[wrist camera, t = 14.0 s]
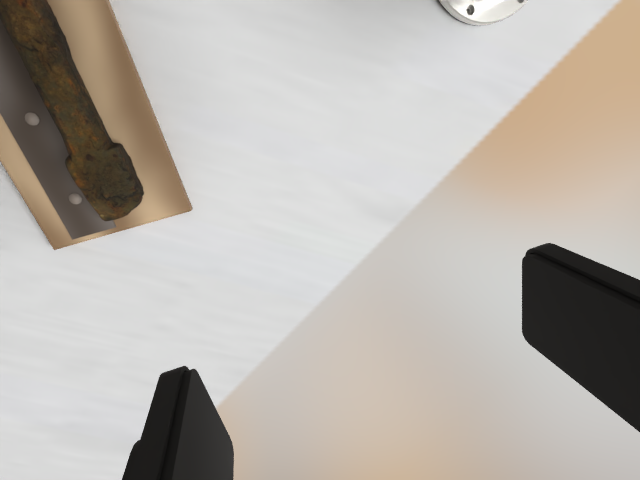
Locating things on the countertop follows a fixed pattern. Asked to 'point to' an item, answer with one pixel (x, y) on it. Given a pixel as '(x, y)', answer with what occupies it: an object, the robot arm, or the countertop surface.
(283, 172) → the countertop surface
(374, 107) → the countertop surface
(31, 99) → the plywood panel
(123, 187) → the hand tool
